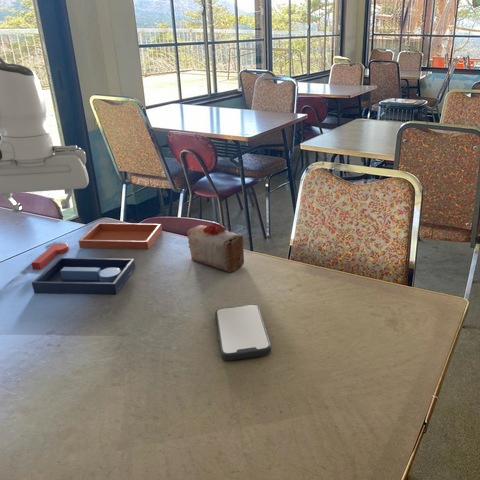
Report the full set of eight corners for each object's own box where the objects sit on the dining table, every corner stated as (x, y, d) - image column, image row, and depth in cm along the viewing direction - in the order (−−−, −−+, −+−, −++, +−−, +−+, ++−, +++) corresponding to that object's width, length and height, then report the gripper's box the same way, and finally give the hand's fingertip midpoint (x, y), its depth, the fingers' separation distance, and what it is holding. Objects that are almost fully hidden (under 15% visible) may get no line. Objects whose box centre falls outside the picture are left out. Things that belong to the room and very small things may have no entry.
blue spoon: (58, 282, 105) (56, 273, 104) (68, 272, 109) (67, 264, 108) (117, 283, 105) (115, 274, 104) (124, 273, 109) (123, 265, 108)
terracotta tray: (80, 249, 122) (78, 240, 121) (99, 231, 133) (98, 222, 132) (148, 250, 122) (147, 241, 121) (162, 232, 133) (161, 223, 132)
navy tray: (34, 293, 101) (31, 282, 100) (61, 267, 113) (59, 257, 112) (116, 294, 102) (114, 284, 101) (135, 268, 113) (134, 258, 112)
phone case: (214, 315, 96) (221, 363, 82) (214, 308, 95) (221, 355, 81) (258, 310, 98) (272, 356, 84) (258, 303, 97) (272, 348, 83)
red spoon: (47, 271, 110) (45, 263, 109) (27, 271, 110) (25, 262, 109) (72, 248, 122) (70, 240, 121) (54, 248, 122) (52, 240, 121)
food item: (184, 261, 117) (181, 223, 113) (207, 250, 123) (204, 214, 119) (227, 275, 111) (225, 236, 107) (249, 263, 117) (248, 225, 113)
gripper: (85, 141, 106) (95, 201, 111) (-24, 146, 99) (-8, 209, 104) (83, 148, 100) (93, 210, 106) (-33, 153, 94) (-15, 219, 99)
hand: (42, 209), depth 105 cm, fingers open, 8 cm apart
